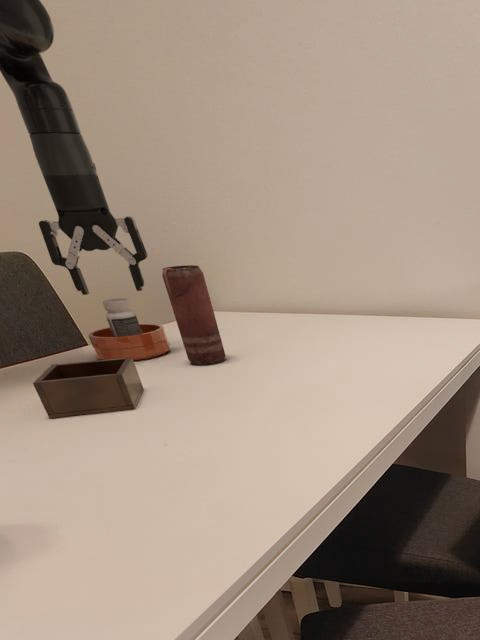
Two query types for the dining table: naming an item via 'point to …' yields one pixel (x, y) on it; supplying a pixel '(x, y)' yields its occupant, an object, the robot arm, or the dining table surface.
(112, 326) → the pill bottle
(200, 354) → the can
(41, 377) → the holder
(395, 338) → the dining table surface
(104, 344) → the bowl
